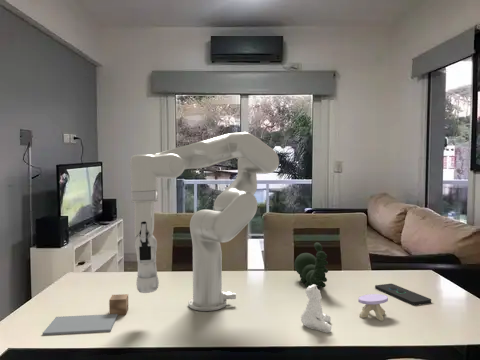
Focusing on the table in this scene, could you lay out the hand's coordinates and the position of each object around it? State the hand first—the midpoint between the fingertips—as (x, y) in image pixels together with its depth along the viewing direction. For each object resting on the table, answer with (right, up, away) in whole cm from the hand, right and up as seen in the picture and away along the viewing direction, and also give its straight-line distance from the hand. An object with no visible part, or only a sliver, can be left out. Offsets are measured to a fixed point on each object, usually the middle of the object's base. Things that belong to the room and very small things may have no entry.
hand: (146, 256), depth 121 cm
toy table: (+69, -19, +5) cm, 72 cm away
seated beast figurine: (+49, -20, -3) cm, 53 cm away
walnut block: (-11, -19, +8) cm, 23 cm away
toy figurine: (+55, -18, +38) cm, 69 cm away
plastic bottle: (0, -11, +1) cm, 11 cm away
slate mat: (-18, -20, -2) cm, 27 cm away
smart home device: (+85, -19, +25) cm, 91 cm away
